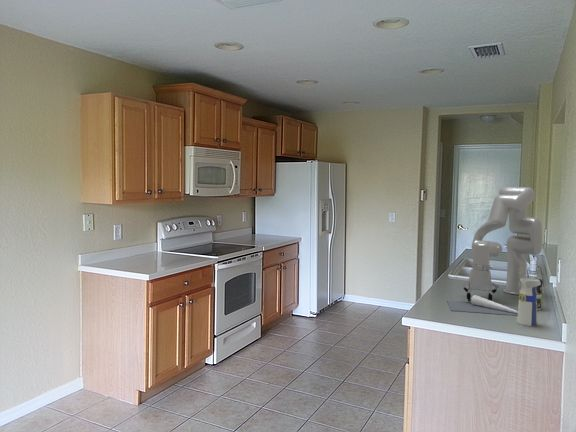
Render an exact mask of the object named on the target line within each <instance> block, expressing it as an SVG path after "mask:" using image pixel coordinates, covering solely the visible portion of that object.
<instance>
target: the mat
mask: <svg viewBox="0 0 576 432" xmlns="http://www.w3.org/2000/svg"><path fill="white" fill-rule="evenodd" d="M447 303H448V306H449V309H450V311H451V312H460V313H461V312H462V313H474V314H488V315H500V316H501V315H502V316H515V317H518V314H517V313H511V312H506V311H501V310H496V309H492V308H487V307H482V306H478V305H473V304H472V303H471V301H457V300H456V301H455V300H454V301H453V300H447ZM502 305H503V306H506V307H509V308H510V309H514V310H516V308H514V307H513V305H511V304H502Z"/></svg>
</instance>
